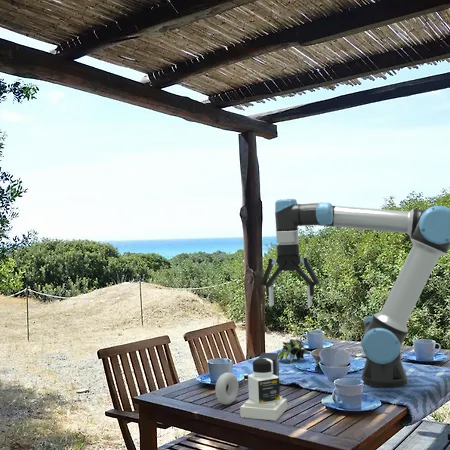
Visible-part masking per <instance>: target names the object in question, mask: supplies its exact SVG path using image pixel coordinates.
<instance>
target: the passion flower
mask: <svg viewBox="0 0 450 450" xmlns="http://www.w3.org/2000/svg"><path fill="white" fill-rule="evenodd" d="M282 347H283V348H282V350H278V351H277V353H278V360H280V361H283V360H284V357H285V361H288V357H289V359H290V362H289V364H291V363H292V362H293V359H294V358H295V357H296V359H297V360H298V361H300V360H301V359H302V360H304V359H305V354H306V355H311V352H310V351H308V350H307V348H306V347H305V344H303V342H302V340H300V339H297V338H296V339H291V338H290V339H289V341H286V342H285V341H282Z"/></svg>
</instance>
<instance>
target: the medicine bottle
mask: <svg viewBox="0 0 450 450" xmlns="http://www.w3.org/2000/svg"><path fill="white" fill-rule="evenodd" d="M247 381H248V382H247V384H248V385H247V386H248V399H251V400H253V401H255V402H257V403H258V404H264V403H269V402H274V401H279V400H280V396H281V391H280V390H281V389H280V388H281V387H280V376H279V377H278V376H276V375H274V374H273V361H272V360H270V359H267V358H260V359H258V358H256V359H254V360H253V361H252V374H248V375H247Z"/></svg>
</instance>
